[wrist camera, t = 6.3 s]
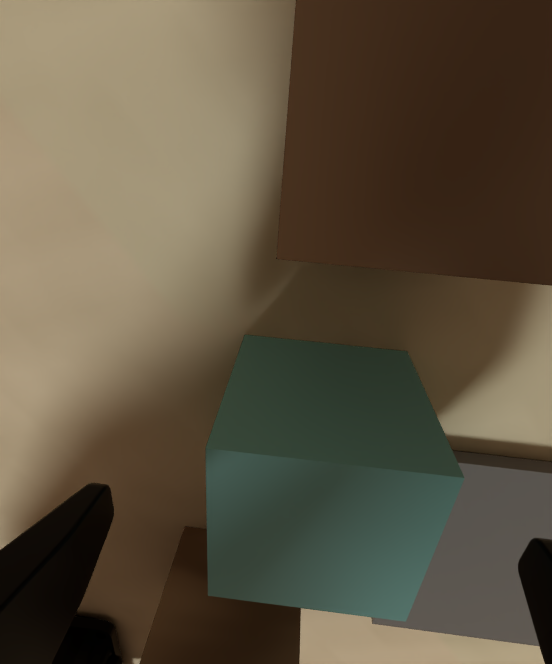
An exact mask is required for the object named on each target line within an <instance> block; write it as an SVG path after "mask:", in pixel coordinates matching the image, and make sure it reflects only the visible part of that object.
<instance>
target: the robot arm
mask: <svg viewBox="0 0 552 664" xmlns="http://www.w3.org/2000/svg"><path fill="white" fill-rule="evenodd" d="M113 516H114V506H113V501H112V495H111V489H110V487H109V486H108V485H106V484H99V483H90V484H88V485H86V486H85V487H83V488H82V489H81V490H79V491H78V492H77V493H75V494H74V495H73V496H71V497H70V498H69V499H67V500H66V501H65V502H63V503H62V504H61V505H59V506H58V507H57V508H55V509H54V510H53V511H51V512H50V513H49V514H47V515H46V516H45V517H43V518H42V519H41V520H39V521H38V522H37V523H35V524H34V525H33V526H31V527H30V528H29V529H27V530H26V531H25V532H24V533H22V534H21V535H20V536H18V537H17V538H16V539H14V540H13V541H12V542H10V543H9V544H8V545H6V546H5V547H4V548H2V549H1V550H0V664H124V663H123V660H122V656H121V651H120V647H119V642H118V637H117V633H116V628H115V626H114V625H113V624H112V623H111V622H109V621H105V620H99V619H92V618H85V617H78V616H75V614H76V612H77V610H78V608H79V605H80V603H81V601H82V599H83V597H84V594H85V592H86V589H87V587H88V584H89V582H90V579H91V576H92V574H93V571H94V568H95V566H96V563H97V560H98V558H99V555H100V552H101V550H102V547H103V544H104V542H105V539H106V537H107V534H108V531H109V529H110V526H111V523H112V520H113ZM518 573H519V577H520V580H521V584H522V587H523V591H524V594H525V598H526V601H527V605H528V608H529V612H530V615H531V619H532V622H533V626H534V629H535V633H536V636H537V639H538V643H539V646H540V649H541V653H542V656H543V659H544V662H545V664H552V540H551V539H544V538H533V539H531V540H530V542H529V543H528V545H527V547H526V549H525V550H524V552H523V554H522V556H521V557H520V559H519V562H518Z"/></svg>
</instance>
